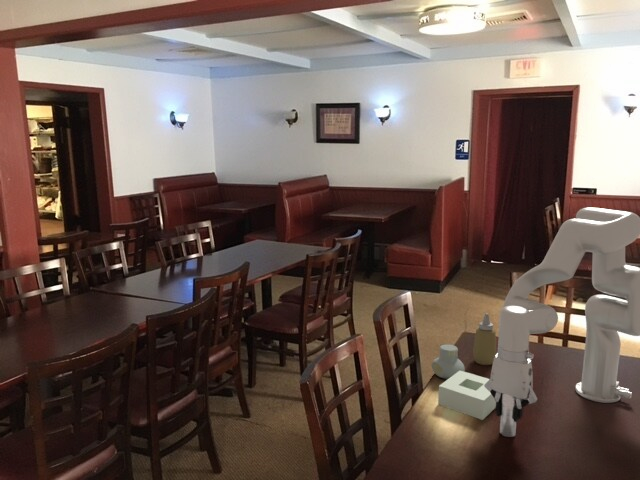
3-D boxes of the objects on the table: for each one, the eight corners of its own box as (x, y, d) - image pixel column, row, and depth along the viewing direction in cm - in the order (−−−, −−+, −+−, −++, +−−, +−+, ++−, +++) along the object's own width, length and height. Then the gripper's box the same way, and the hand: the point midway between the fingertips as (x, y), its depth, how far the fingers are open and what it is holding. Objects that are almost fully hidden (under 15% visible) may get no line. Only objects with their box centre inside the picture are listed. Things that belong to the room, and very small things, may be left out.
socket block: (501, 401, 164) (503, 383, 162) (482, 420, 153) (483, 400, 152) (458, 387, 172) (459, 370, 171) (438, 404, 162) (438, 385, 161)
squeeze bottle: (497, 367, 187) (500, 318, 184) (472, 366, 189) (475, 316, 185) (494, 358, 195) (497, 310, 191) (471, 356, 196) (473, 309, 193)
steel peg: (517, 432, 146) (520, 384, 143) (512, 438, 143) (515, 389, 140) (503, 427, 149) (506, 380, 146) (497, 433, 146) (500, 385, 143)
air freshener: (467, 380, 178) (469, 351, 176) (445, 384, 175) (447, 355, 173) (449, 367, 188) (450, 340, 186) (428, 370, 185) (429, 343, 183)
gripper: (550, 356, 139) (545, 421, 143) (487, 341, 149) (484, 402, 153) (540, 366, 133) (535, 433, 137) (476, 349, 144) (473, 412, 147)
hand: (508, 416), depth 145 cm, fingers closed on steel peg, 4 cm apart
